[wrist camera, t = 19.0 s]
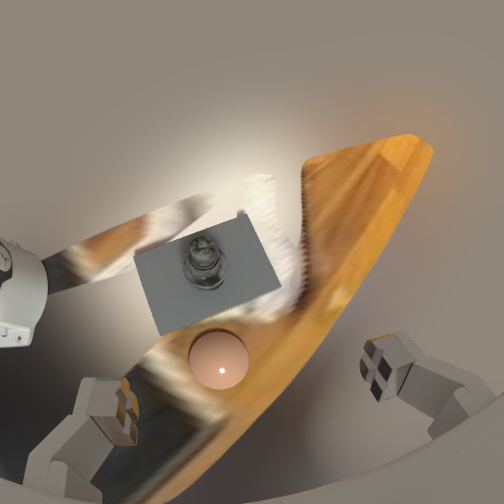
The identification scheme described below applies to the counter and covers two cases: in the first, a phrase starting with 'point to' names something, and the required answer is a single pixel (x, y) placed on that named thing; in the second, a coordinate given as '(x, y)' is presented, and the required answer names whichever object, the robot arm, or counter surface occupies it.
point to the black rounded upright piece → (205, 264)
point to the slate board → (192, 300)
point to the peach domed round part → (218, 360)
